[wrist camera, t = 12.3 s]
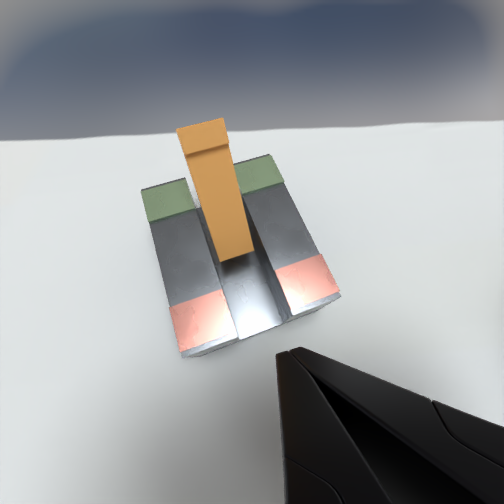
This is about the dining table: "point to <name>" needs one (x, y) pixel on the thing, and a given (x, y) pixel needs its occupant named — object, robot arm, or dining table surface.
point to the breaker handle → (217, 186)
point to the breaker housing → (236, 262)
